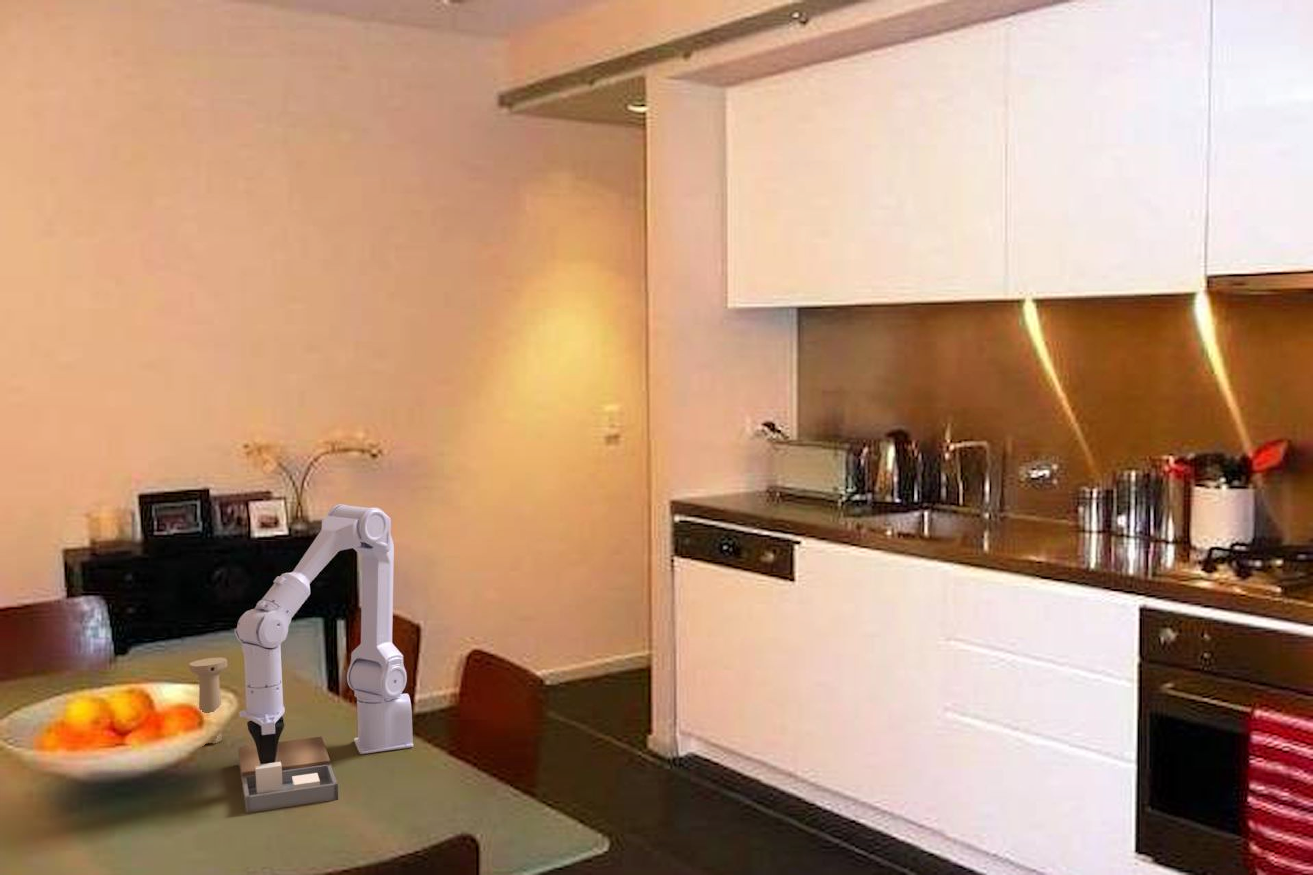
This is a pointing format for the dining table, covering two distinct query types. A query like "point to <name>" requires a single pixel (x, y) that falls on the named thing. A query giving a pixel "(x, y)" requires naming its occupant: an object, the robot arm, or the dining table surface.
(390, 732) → the robot arm
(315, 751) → the board
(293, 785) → the tile
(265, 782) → the tile
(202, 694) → the handle
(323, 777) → the tray
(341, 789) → the dining table surface
